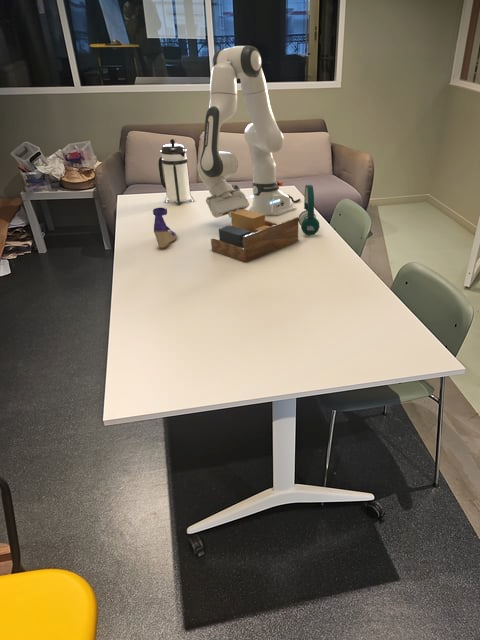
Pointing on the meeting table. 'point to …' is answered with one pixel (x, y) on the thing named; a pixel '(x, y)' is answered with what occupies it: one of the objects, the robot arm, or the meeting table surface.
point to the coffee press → (175, 172)
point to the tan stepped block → (248, 220)
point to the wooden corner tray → (260, 241)
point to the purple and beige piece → (162, 229)
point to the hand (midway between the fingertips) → (238, 220)
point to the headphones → (309, 213)
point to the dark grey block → (233, 235)
